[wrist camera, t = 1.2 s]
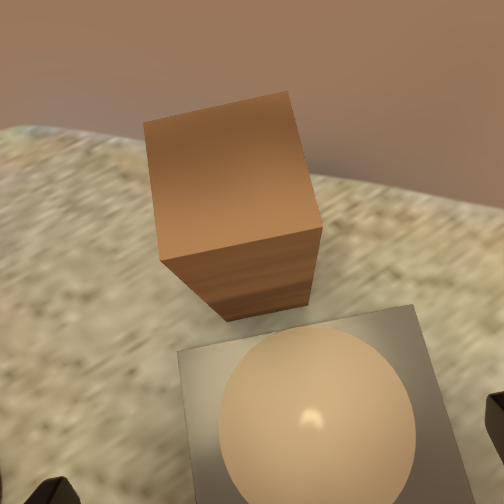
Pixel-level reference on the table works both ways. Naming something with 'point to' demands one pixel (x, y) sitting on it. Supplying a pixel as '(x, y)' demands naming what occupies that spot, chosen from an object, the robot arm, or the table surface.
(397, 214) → the table surface
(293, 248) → the walnut block
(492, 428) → the robot arm
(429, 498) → the slate board
